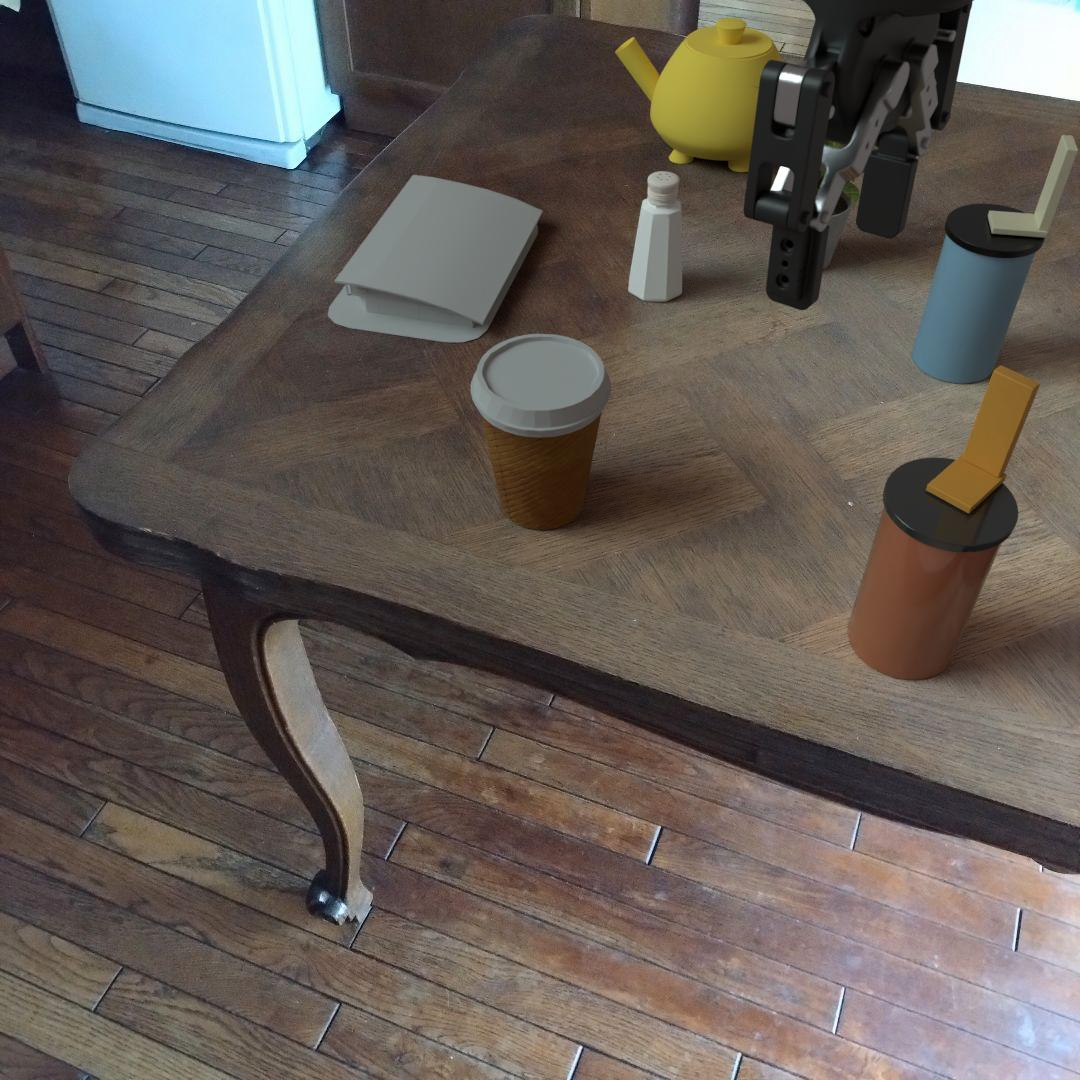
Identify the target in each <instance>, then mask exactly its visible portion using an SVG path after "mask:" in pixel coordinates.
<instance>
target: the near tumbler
mask: <svg viewBox="0 0 1080 1080" xmlns="http://www.w3.org/2000/svg"><path fill="white" fill-rule="evenodd" d="M955 460H956V459H954V458H947V457H936V456H935V457H934V456H933V457H922V458H917V459H913V460H910V461H907V462H905V463H903V464H901V465H899V466H898V467H897V468H895V469H894V470H893V471H892V472H891V473H890V474H889V476H888V477H887V479H886V482H885V484H884V487H883V491H882V502H883V509H882V512H881V515H880V518H879V522H878V525H877V528H876V531H875V535H874V538H873V541H872V544H871V548H870V551H869V554H868V557H867V560H866V564H865V567H864V571H863V574H862V578H861V581H860V584H859V587H858V591H857V594H856V596H855V597H856V598H855V600H854V602H853V606H852V610H851V613H850V616H849V620H848V624H847V638H848V641H849V644H850V646H851V647H852V650H853V651H854V653H855V654H856V655H857V656H858V658H859V659H860V660H861V661H863V662H864V664H866V665H867V666H869V667H870V668H871V669H873V670H875V671H877V672H879V673H880V674H883V675H886V676H888V677H892V678H896V679H898V680H899V679H901V680H909V681H914V680H915V681H916V680H918V681H919V680H925V679H928V678H931V677H934V676H937V675H938V674H940V673H941V672H943V671H944V670H946V669H947V667H948V666H949V664H950V663H951V662H952V659H953V658H954V655H955V652H956V650H957V648H958V646H959V643H960V641H961V639H962V637H963V635H964V632H965V630H966V628H967V625H968V623H969V620H970V618H971V616H972V613H973V611H974V609H975V606H976V604H977V602H978V599H979V597H980V594H981V592H982V590H983V589H984V588H983V587H984V586H985V583H986V581H987V578H988V577H989V574H990V571H991V569H992V567H993V564H994V563H995V560H996V558H997V555H998V553H999V551H1000V548H1001V546H1002V544H1003V543H1004V542H1005V541H1006V540H1007V539H1009V537H1010V536H1011V535H1012V534H1013V532H1014V530H1015V528H1016V525H1017V523H1018V520H1019V507H1018V503H1017V500H1016V498H1015V496H1014V494H1013V493H1012V491H1011V490H1010V489H1009V488H1008V486H1007V485H1006V484H1005V483H1004V482H1003V483H1002V484H1001V485H1000V486H998V487H997V488H996V489H995V490H994V491H993V492H992V493H991V494H990V495H989V496H988V497H987V498H986V499H984V500H983V501H982V502H981V503H980V504H979V505H978V506H977V507H976V508H975V509H974V510H973V511H972V512H970V513H969V514H968V513H966V512H965V511H963V510H961V509H959V508H957V507H955V506H954V505H952V504H950V503H948V502H946V501H945V500H943V499H941V498H939V497H937V496H936V495H934V494H932V493H930V492H928V491H926V488H927V485H928V484H929V483H930V482H931V481H932V480H933V479H934V478H936V477H937V476H938V475H939V474H940V473H941V472H942V471H944V470H945V469H946V468H947V467H948V466H949V465H950V464H952V463H953V462H954V461H955Z"/></svg>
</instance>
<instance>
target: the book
mask: <svg viewBox="0 0 1080 1080" xmlns="http://www.w3.org/2000/svg"><path fill="white" fill-rule="evenodd" d="M543 213H544V210H542V209H540V208H537V207H535V206H533V205H531V204H529V203H526V202H525V201H522V200H519V199H518V198H515V197H513V196H509V195H506V194H503V193H499V192H497V191H494V190H490V189H489V188H488V189H487V188H483V187H479V186H475V185H472V184H467V183H463V182H459V181H455V180H454V181H453V180H449V179H444V178H439V177H435V176H427V175H419V174H412V175H411V177H410V178H409V179H408V181H407V182H406V183H405V185H404V186H403V187H402V189H401V190H400V191H399V193H398V194H397V195H396V197H395V198H394V199H393V201H392V203H391V204H390V205H389V206H388V207H387V209H386V210H385V211H384V213H383V215H381V217H380V218H379V220H378V221H377V223H375V225H374V227H372V229H371V230H370V232H369V233H368V234H367V235H366V237H365V239H364V240H363V241H362V242H361V244H360V245H359V246H358V248H357V249H356V251H355V252H354V253H353V255H352V256H351V257H350V259H349V260H348V261H347V263H346V264H345V265H344V266H343V268H342V269H341V271H340V272H339V274H337V276H336V277H335V279H334V284H339V285H340V284H341V285H344V286H343V287H342V289H341V290H340V291H339V292H338V294H337V295H336V297H335V298H334V299H333V301H332V302H331V304H330V305H329V306H328V311H327V317H328V318H329V319H330V321H332V323H334V324H335V325H338V326H341V327H345V328H348V329H352V330H359V331H365V332H373V333H377V334H378V333H379V334H386V335H391V336H399V337H404V338H405V337H406V338H412V339H418V340H425V341H430V342H431V341H432V342H439V343H445V344H446V343H447V344H448V343H453V344H454V343H455V344H464V343H466V342H471V341H474V340H477V339H479V338H480V337H482V336H483V335H484V334H485V333H486V332H487V331H488V330H489V327H490V326H491V324H492V322H493V321H494V318H495V317H496V314H497V313H498V310H499V308H500V307H501V305H502V303H503V301H504V299H505V297H506V295H507V293H508V291H509V289H510V287H511V286H512V284H513V282H514V280H515V278H516V276H517V274H518V273H519V270H520V268H521V267H522V265H523V263H524V261H525V260H526V257H527V255H528V253H529V252H530V249H531V248H532V246H533V244H534V242H535V240H536V238H537V237H538V234H539V227H538V225H537V224H538V222H539V220H540V219H541V217H542V215H543Z"/></svg>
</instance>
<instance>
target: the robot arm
mask: <svg viewBox="0 0 1080 1080" xmlns="http://www.w3.org/2000/svg"><path fill="white" fill-rule="evenodd" d="M801 1H802V2H804V3H805V4H806V5H807V6H808V7H809V9H810V10H811V11H812V13H813V16H814V24H813V26H812V31H811V34H810V38H809V42H808V45H807V47H806V50H805V51H806V52H805V54H804V57H803V60H802V61H801V62H798V63H791V62H786V61H783V62H782V61H777V60H769V61H768V62H767V63H766V65H765V66H764V68H763V70H762V73H761V77H760V83H759V91H758V99H757V107H756V115H755V123H754V131H753V138H752V146H751V154H750V162H749V170H748V172H747V177H746V187H745V195H744V202H743V215H744V217H745V218H747V219H750V220H754V221H758V222H760V223H764V224H768V225H770V226H772V231H771V232H772V233H771V241H770V249H769V251H770V252H769V257H768V266H767V274H766V275H767V276H766V283H765V293H766V295H767V297H768V298H769V299H770V300H771V301H772V302H774V303H777V304H781V305H784V306H787V307H790V308H793V309H797V310H800V311H805V310H808V309H809V308H810V307H811V306H813V305H814V304H815V303H816V302H817V301H818V300H819V297H820V292H821V286H822V278H823V272H824V269H823V266H824V259H825V253H826V246H827V240H828V233H829V227H830V226H828V224H829V222H830V219H831V217H832V214H833V212H834V209H835V207H836V205H837V202H838V200H839V197H840V195H841V193H842V190H843V188H844V186H845V184H846V183H847V182H848V181H849V180H851V181H852V180H853V179H855V180H856V179H858V178H859V177H860V176H861V175H862V174H863V176H862V182H861V187H860V192H859V198H858V206H857V212H856V218H855V224H856V226H857V228H858V230H859V231H861V232H864V233H867V234H870V235H874V236H876V237H877V236H878V237H882V238H884V239H893V238H894V239H895V238H896V237H897V236H898V235H900V233H902V232H903V231H904V230H905V227H906V224H907V218H908V214H909V209H910V204H911V199H912V195H913V190H914V185H915V179H916V176H917V175H916V174H917V170H918V165H919V160H920V159H918V158H917V157H924V156H925V154H926V153H927V151H928V149H929V148H930V146H931V143H932V136H933V135H932V133H933V132H932V130H934V131H935V130H936V131H939V132H941V131H943V130H944V129H945V127H946V126H947V125H948V123H949V121H950V119H951V111H952V106H953V102H954V98H955V97H954V96H955V91H956V85H957V82H958V76H959V71H960V65H961V61H962V56H963V50H964V45H965V40H966V36H967V30H968V26H969V25H968V24H969V20H970V16H971V10H972V8H973V2H974V1H975V0H801ZM825 140H828V141H832V142H836V143H841V145H843V146H840V148H835V147H831V146H826V145H824V144H825ZM874 147H877V149H875V148H874ZM775 166H778V167H779V169H778V171H777V173H776V174H777V175H776V176H775V177H776V179H775V181H774V183H773V186H772V188H771V184H772V181H773V177H774V176H773V175H774V173H773V172H774V170H775V169H774V168H775ZM864 168H865V170H864ZM863 170H864V173H862V172H863ZM820 171H822V172H826V174H825V176H824V178H823V181H822V183H821V186H820V188H819V191H818V193H817V195H816V191H817V185H818V180H819V174H820ZM815 197H816V198H815Z"/></svg>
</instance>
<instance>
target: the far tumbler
mask: <svg viewBox="0 0 1080 1080" xmlns="http://www.w3.org/2000/svg"><path fill="white" fill-rule="evenodd" d="M989 211H1003V212H1016V213H1026V212H1025V211H1023V210H1020V209H1017V208H1014V207H1011V206H1007V205H1002V204H996V203H995V204H994V203H971V204H965V205H961V206H959V207H957V208H955V209H953V210H951V211H950V212H949V213H948V215H947V216H946V219H945V223H944V232H945V237H944V240H943V244H942V247H941V250H940V254H939V257H938V261H937V264H936V266H935V267H936V268H935V271H934V275H933V278H932V282H931V285H930V288H929V292H928V295H927V299H926V302H925V306H924V309H923V312H922V316H921V320H920V323H919V326H918V330H917V333H916V336H915V339H914V344H913V347H912V350H911V357H912V360H913V363H914V364H915V366H917V368H918V369H919V370H920V371H921V372H923V373H925V374H926V375H928V376H930V377H931V378H934V379H937V380H939V381H942V382H947V383H951V384H959V385H961V384H962V385H963V384H974V383H977V382H981V381H983V380H985V379H987V378H989V376H991V375H992V374H993V371H994V370H995V366H996V363H997V360H998V359H999V358H998V357H999V356H1000V352H1001V350H1002V347H1003V343H1004V342H1005V338H1006V336H1007V332H1008V330H1009V327H1010V325H1011V322H1012V319H1013V315H1014V313H1015V311H1016V308H1017V305H1018V302H1019V299H1020V297H1021V294H1022V292H1023V288H1024V285H1025V283H1026V281H1027V278H1028V274H1029V273H1030V269H1031V266H1032V264H1033V261H1034V258H1035V255H1036V252H1038V251H1039V250H1041V249H1042V247H1043V245H1044V243H1045V239H1046V238H1042V237H1029V236H1016V235H1003V234H992V232H991V228H990V224H989V220H988V213H989Z"/></svg>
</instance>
